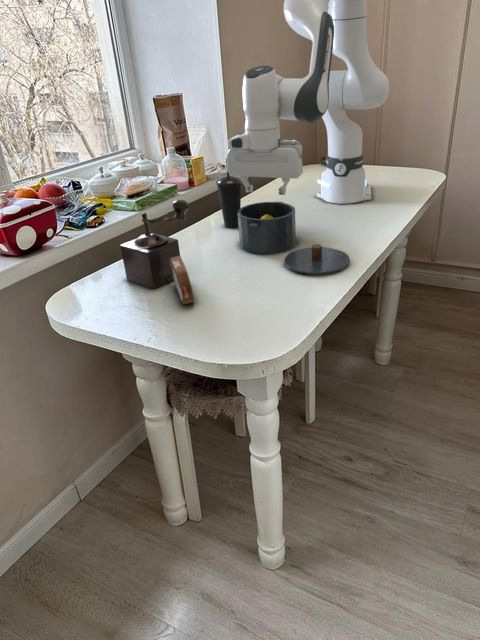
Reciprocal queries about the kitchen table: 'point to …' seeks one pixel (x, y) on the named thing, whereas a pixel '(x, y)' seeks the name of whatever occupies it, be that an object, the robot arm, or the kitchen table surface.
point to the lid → (317, 260)
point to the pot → (267, 227)
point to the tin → (181, 280)
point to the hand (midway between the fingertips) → (265, 193)
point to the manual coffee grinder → (152, 252)
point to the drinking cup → (230, 199)
